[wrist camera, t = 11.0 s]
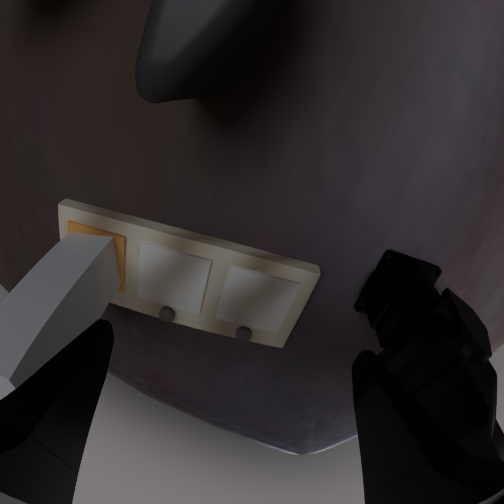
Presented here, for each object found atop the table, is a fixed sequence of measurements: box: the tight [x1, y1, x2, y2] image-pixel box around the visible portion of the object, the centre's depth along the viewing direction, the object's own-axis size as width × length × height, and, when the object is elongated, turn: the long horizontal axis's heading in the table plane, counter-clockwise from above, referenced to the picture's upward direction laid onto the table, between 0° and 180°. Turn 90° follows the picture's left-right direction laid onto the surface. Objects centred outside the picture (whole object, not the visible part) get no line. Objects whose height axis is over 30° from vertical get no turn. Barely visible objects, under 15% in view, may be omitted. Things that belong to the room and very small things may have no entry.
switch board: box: [58, 199, 321, 348], centre depth 24 cm, size 22×9×2 cm, turn 75°
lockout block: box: [0, 232, 121, 399], centre depth 16 cm, size 4×4×14 cm
